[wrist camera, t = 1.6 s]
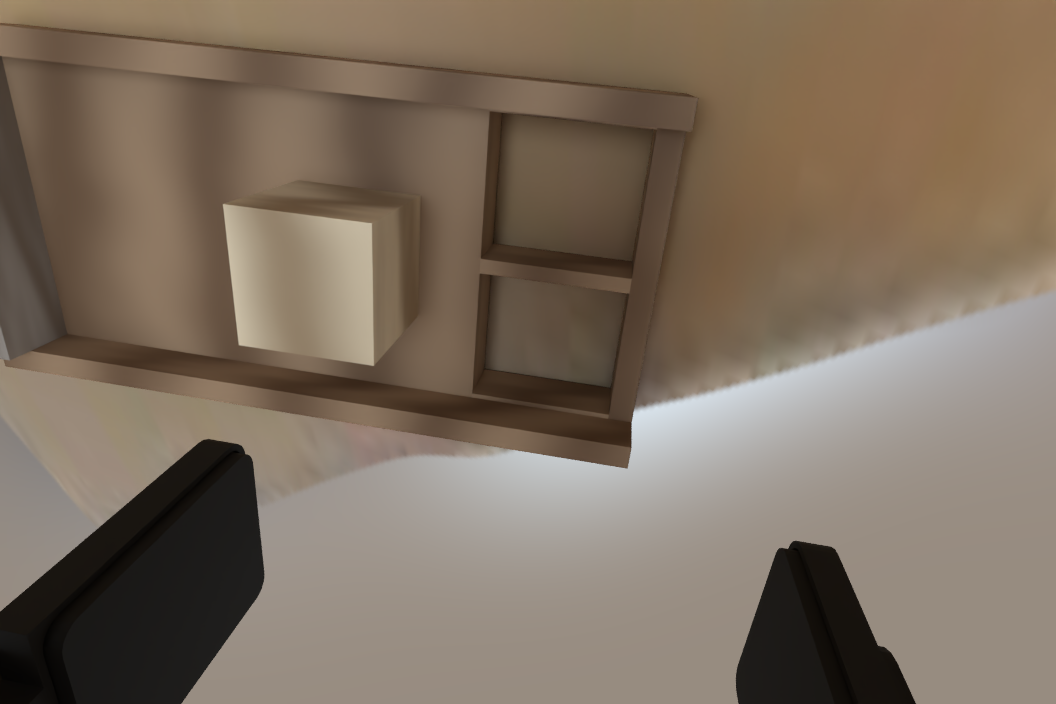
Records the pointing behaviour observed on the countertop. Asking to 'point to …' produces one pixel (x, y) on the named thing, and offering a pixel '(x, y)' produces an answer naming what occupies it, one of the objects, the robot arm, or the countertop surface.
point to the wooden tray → (276, 159)
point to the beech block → (324, 269)
